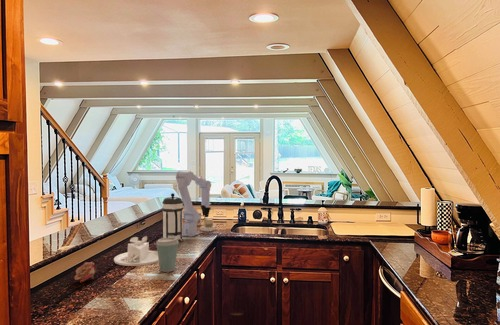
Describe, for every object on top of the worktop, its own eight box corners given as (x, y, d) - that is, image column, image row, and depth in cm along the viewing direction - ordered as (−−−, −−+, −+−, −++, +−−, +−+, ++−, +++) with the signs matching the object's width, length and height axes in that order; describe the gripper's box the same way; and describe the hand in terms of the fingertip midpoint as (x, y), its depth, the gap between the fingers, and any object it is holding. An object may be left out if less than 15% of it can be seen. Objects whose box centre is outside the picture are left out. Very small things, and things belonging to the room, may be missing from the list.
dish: (113, 255, 203) (113, 234, 203) (160, 251, 212) (160, 231, 211) (114, 268, 180) (113, 245, 180) (166, 263, 189) (166, 241, 188)
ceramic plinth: (210, 232, 261) (210, 228, 261) (200, 231, 265) (200, 226, 264) (216, 230, 268) (216, 225, 268) (206, 228, 272) (206, 224, 272)
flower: (95, 271, 170) (84, 258, 167) (105, 271, 164) (94, 258, 162) (79, 288, 164) (67, 276, 161) (89, 288, 158) (77, 276, 155)
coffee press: (154, 242, 230) (154, 194, 229) (171, 237, 244) (171, 191, 243) (176, 245, 222) (176, 195, 221) (192, 240, 236) (192, 193, 235)
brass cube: (212, 226, 265) (212, 219, 265) (205, 227, 263) (205, 220, 263) (211, 225, 270) (211, 218, 269) (204, 225, 268) (204, 218, 268)
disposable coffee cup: (156, 274, 171) (156, 242, 170) (155, 267, 181) (155, 236, 181) (179, 272, 174) (179, 240, 173) (177, 265, 184) (177, 235, 184)
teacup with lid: (189, 226, 280) (189, 210, 280) (189, 223, 289) (189, 208, 289) (205, 225, 281) (205, 210, 281) (205, 223, 290) (205, 208, 290)
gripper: (213, 198, 260) (213, 217, 260) (209, 195, 274) (209, 214, 274) (203, 198, 258) (203, 218, 258) (199, 196, 271) (199, 214, 272)
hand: (205, 216), depth 266 cm, fingers open, 7 cm apart
